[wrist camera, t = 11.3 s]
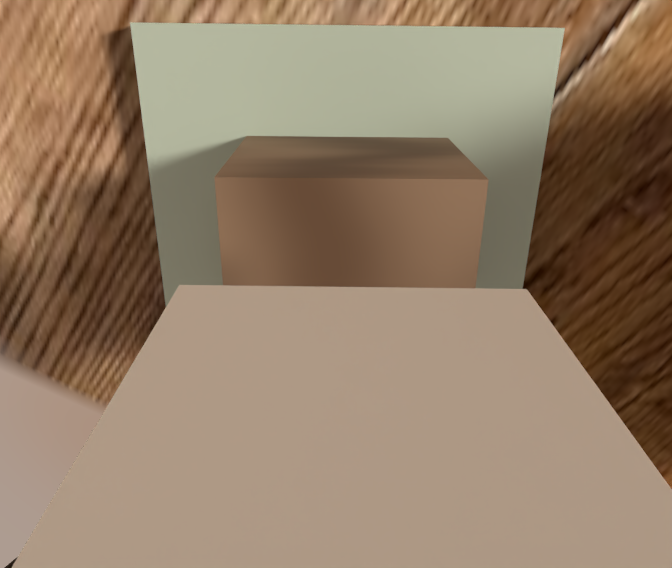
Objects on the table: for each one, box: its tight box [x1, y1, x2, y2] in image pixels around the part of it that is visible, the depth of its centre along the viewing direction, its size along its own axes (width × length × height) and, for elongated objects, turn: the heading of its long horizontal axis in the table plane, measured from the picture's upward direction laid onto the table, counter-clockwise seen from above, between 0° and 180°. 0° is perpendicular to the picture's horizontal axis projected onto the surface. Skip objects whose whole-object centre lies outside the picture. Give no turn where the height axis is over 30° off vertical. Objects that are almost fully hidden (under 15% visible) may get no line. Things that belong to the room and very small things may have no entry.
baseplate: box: [130, 23, 565, 306], centre depth 19 cm, size 12×12×1 cm
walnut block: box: [214, 136, 489, 288], centre depth 16 cm, size 6×6×5 cm
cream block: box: [12, 285, 672, 568], centre depth 7 cm, size 5×5×5 cm
